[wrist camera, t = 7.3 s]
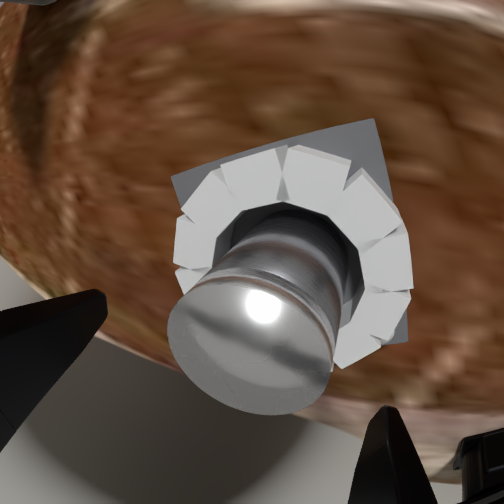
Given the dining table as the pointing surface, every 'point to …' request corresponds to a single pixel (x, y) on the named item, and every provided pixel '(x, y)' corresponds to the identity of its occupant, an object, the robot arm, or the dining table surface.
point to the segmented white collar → (317, 202)
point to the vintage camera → (31, 1)
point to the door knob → (266, 316)
